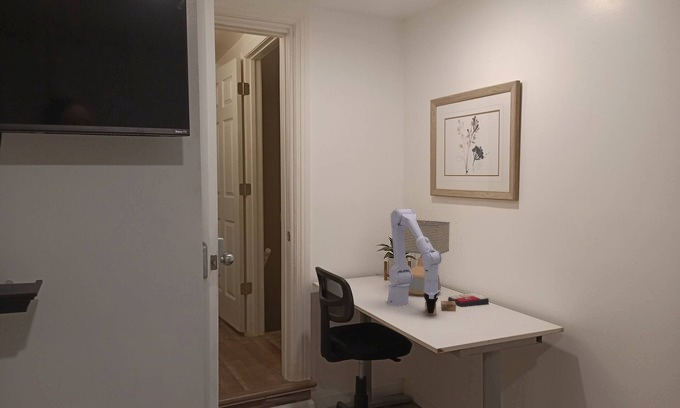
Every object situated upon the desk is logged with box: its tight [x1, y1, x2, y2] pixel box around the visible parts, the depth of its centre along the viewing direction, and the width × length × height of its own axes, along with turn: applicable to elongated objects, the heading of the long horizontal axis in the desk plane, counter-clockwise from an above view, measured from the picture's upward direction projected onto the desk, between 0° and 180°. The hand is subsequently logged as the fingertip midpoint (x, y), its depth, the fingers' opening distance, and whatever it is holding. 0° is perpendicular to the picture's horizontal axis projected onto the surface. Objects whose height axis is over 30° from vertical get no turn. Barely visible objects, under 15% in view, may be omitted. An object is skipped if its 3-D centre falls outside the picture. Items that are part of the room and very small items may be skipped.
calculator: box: [447, 292, 490, 308], centre depth 239 cm, size 11×4×15 cm
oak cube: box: [424, 301, 437, 316], centre depth 220 cm, size 4×4×4 cm
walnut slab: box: [440, 300, 457, 313], centre depth 227 cm, size 6×6×3 cm
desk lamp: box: [404, 219, 450, 297], centre depth 258 cm, size 22×19×37 cm
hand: (430, 311), depth 220 cm, fingers closed on oak cube, 4 cm apart
